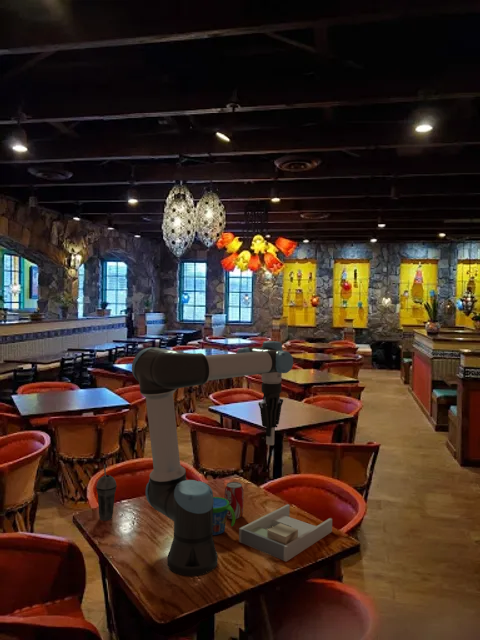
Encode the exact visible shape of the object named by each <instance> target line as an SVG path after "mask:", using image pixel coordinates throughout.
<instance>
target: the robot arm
mask: <svg viewBox="0 0 480 640" xmlns="http://www.w3.org/2000/svg"><path fill="white" fill-rule="evenodd" d="M293 366H294V358H293V355H292V354H291V353H290V352H289V351H286V350H283V343H282V342H281V341H273V340H271V341H270V340H267V341H262V346H259V347H257V346H255V347H248V346H247V347H241V348H239V349H238V350H237V352H236V353H226V354H217V355H216V354H214V355H213V354H212V355H205V354H203V353H202V352H198V353H197V352H196V353H191V352H184V351H178V350H173V349H165V348H161V347H147V348H144V349H142V350H140V351H139V352H138V353H137V354H136V355H135V356H134V357H133V360H132V364H131V373H132V375H133V377H134V378H135V380H136V381H138V383H139V391H140V392H139V393H140V394H141V395H142V396H143V397H145V403H146V409H147V410H146V411H147V420H148V429H149V438H150V440H149V441H150V448H151V455H152V456H151V457H152V467H153V469H152V471H151V472H150V473H149V479H148V482H147V483H146V487H145V498H146V500H147V502H148V504H149V505H150V506H151V507H152V508H153V509H154V510H155V511H157V512H158V513H160V514H162V515H164V516H165V517H167V518H168V519H170V520H172V521H173V539H172V542H171V546H170V549H169V551H168V553H167V561H166V562H167V563H166V564H167V565H166V566H167V567H168V570H170V571H172V573H174V574H178V575H181V576H190V577H192V576H195V577H196V576H201V575H205V574H209V573H210V572H212V571H214V570H215V569H216V567H218V562H219V561H218V552H217V549H216V546H215V542H214V539H213V535H212V526H213V504H214V500H213V497H214V493H213V490H212V488H211V486H210V485H208V484H207V483H205V482H203V481H200V480H198V481H197V480H195V479H187V472H186V468H185V467H183V465H181V461H180V460H181V459H180V451H179V450H180V449H179V442H178V441H179V440H178V429H177V423H176V422H177V421H176V411H175V402H174V401H175V399H174V394H175V392H176V391H177V389H183V388H188V387H196V386H202V385H205V384H206V383H208V381H215V380H222V379H231V378H236V377H237V378H239V377H246V376H254V375H261V381H262V383H261V393H263V396H262V401H259V402H258V404H257V405H258V406H259V410H260V411H259V412H260V419H261V425H262V427H264V428H265V441H266V442H265V445H269V446H274V445H275V434H276V428H278V427H279V426H278V425H279V424H280V418H281V411H282V405H283V403H284V398H280V394H281V393H282V383H281V382H282V379H283V377H282V374H288V373H290V372H291V370H292V369H293Z"/></svg>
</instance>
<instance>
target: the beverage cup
mask: <svg viewBox="0 0 480 640" xmlns="http://www.w3.org/2000/svg"><path fill="white" fill-rule="evenodd" d="M106 469H107V468H106V464H103V472H104V473H103V474H104V475H102V476H101V477H100V478H98V480H97V482H96V487H95V488H96V493H97V503H98V517H99V521H104V522H105V521H107V522H108V521H110V520H112V519H113V514H114V507H115V499H116V490H117V487H118V486H117V482H116V479H115V478H114V477H113V476H112V475H110V474H107V472H106V471H107V470H106Z"/></svg>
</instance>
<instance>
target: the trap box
mask: <svg viewBox="0 0 480 640" xmlns="http://www.w3.org/2000/svg"><path fill="white" fill-rule="evenodd" d="M290 508H291V507H290V504H288V503H287V504H285V505H283V506H282V507H279V508H277V509H275V510H273V511H271V512H269V513H267V514H266V515H265V514H264V515H263V516H262V517H259V518H258V519H257V518H256V519H255V520H253V521H251V522H249V523H248V524H246V525H243V526H241V527H239V528H238V542H239V543H241V544H243V545H245V546H247V547H251V548H252V549H255V550H257V551H260V552H262V553H265V554H267V555H270V556H272V557H274V558H277V559H279V560H282V561H283V562H288V561H289V560H291V559H293V558H294V557H296V556H297V555H298V554H300V553H302V552H303V551H305V550H307V549H308V548H310V547H311V546H313V545H314V544H315V543H317V542H319V541H320V540H321V539H323V538H325V537H326V536H327V535H329V534H331V533H332V532H333V518H332V517H329V518H327V519H326V520H324V521H323V522H320V524H318V525H314V524H311V523H307V522H305V521H302V520H299V519H296V518H293V517H290ZM280 523H281V524H284V525H287V526H289V527H292V528H295V529H298V538H296V539H295V540H293V541H291V542H290V543H288V544H286V545H285V544H282V543H279V542H277V541H274V540H272V539H269V538H267V533H268V530H269V529H271V528H272V526H273V527H274V526H276V525H278V524H280Z"/></svg>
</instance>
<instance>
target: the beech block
mask: <svg viewBox="0 0 480 640" xmlns="http://www.w3.org/2000/svg"><path fill="white" fill-rule="evenodd" d="M267 530H268V533H267V538H269V539H272V540H274V541H277V542H279V543H282V544H285V545H286V544H288V543H290V542H291V541H293V540H295V539H296V538H298V529H295V528H292V527H289V526H287V525H284V524H281V523H280V524H278V525H276V526H274V527H270V528H268V529H267Z"/></svg>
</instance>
